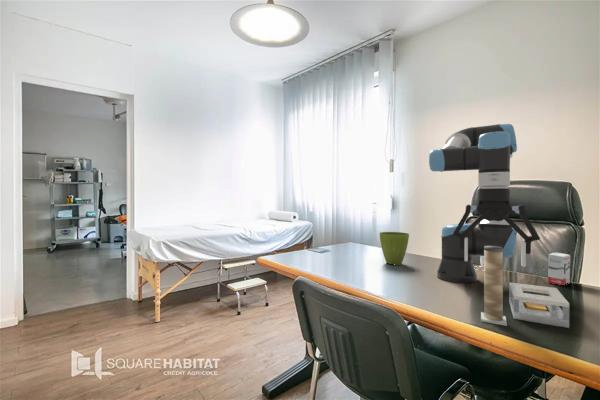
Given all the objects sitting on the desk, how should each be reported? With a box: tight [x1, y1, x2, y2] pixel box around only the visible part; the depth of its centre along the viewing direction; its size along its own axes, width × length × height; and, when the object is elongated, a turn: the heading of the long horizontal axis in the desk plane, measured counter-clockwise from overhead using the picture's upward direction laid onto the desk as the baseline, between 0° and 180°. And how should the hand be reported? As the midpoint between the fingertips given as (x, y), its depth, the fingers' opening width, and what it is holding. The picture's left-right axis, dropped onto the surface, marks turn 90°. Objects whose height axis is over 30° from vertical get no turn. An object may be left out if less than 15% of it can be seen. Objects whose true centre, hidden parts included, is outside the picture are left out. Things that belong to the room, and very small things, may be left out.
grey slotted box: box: [508, 281, 570, 329], centre depth 89 cm, size 12×16×6 cm
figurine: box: [479, 256, 484, 267], centre depth 146 cm, size 9×9×12 cm
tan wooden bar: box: [483, 246, 504, 321], centre depth 84 cm, size 4×4×20 cm
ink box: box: [547, 252, 571, 286], centre depth 121 cm, size 8×5×12 cm, turn 123°
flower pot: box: [378, 231, 410, 266], centre depth 157 cm, size 15×15×16 cm
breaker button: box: [525, 302, 547, 311], centre depth 89 cm, size 5×5×2 cm
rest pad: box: [480, 311, 508, 327], centre depth 85 cm, size 6×6×1 cm
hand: (493, 262), depth 85 cm, fingers open, 13 cm apart
